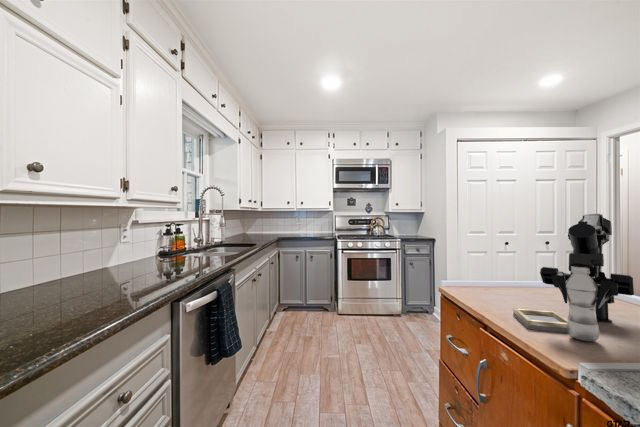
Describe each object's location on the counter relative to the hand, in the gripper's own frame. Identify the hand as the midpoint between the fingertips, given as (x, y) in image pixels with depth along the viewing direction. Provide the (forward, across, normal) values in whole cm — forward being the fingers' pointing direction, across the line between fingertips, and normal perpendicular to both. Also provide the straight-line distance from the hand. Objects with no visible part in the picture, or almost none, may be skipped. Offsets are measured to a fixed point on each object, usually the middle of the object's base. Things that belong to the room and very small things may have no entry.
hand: (581, 305), depth 73 cm
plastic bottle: (+6, 0, +8) cm, 10 cm away
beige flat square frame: (+1, -10, +13) cm, 16 cm away
